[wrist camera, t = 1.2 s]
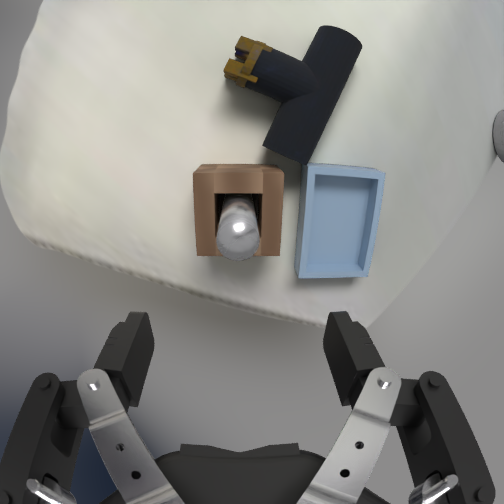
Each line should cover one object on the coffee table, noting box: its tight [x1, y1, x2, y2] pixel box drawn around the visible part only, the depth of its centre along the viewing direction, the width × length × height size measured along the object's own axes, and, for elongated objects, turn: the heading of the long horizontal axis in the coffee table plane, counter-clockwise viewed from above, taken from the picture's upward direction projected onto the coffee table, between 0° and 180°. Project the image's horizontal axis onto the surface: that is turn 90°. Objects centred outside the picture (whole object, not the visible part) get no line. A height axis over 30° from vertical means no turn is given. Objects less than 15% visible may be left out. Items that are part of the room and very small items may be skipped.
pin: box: [216, 193, 260, 261], centre depth 27 cm, size 3×3×12 cm
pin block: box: [193, 164, 284, 256], centre depth 29 cm, size 8×8×6 cm
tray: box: [294, 163, 385, 278], centre depth 32 cm, size 9×13×3 cm
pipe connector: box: [224, 26, 362, 166], centre depth 24 cm, size 12×5×15 cm
